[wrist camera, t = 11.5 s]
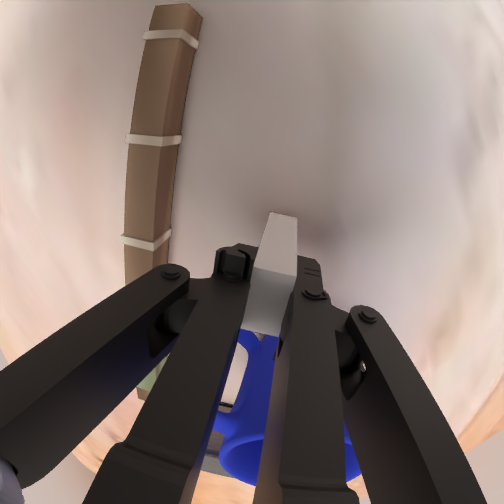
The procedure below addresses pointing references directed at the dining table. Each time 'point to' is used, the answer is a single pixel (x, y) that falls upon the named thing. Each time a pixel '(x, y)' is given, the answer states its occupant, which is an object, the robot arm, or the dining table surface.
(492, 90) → the dining table surface
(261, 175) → the dining table surface
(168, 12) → the brown and green stick
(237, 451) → the mug
